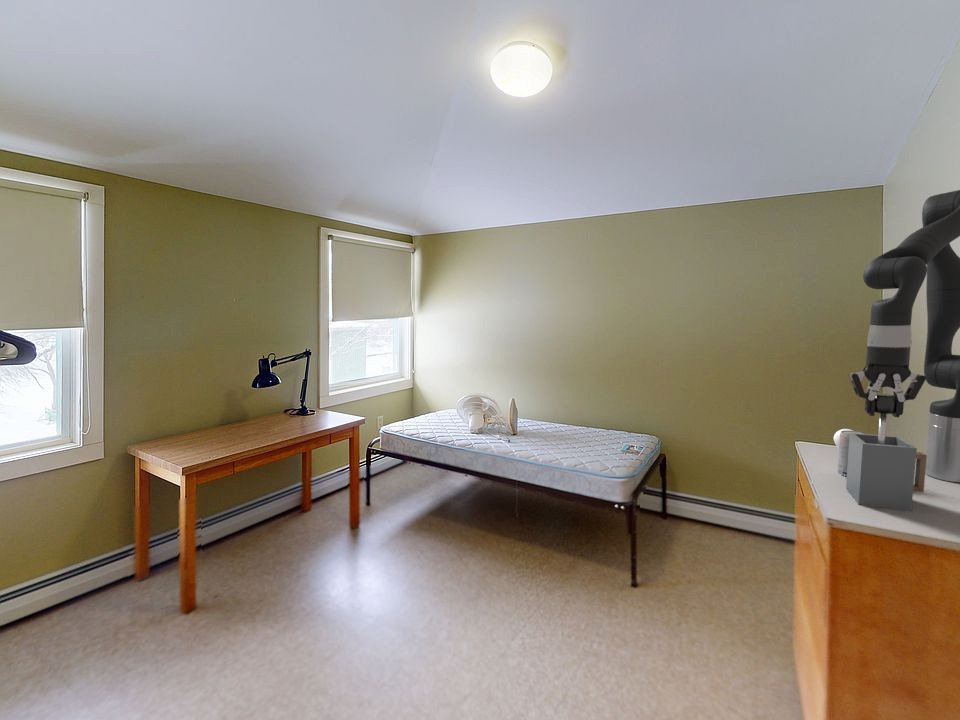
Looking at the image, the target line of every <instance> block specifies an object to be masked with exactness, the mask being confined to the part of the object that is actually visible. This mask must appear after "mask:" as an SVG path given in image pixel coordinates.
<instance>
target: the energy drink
mask: <svg viewBox="0 0 960 720" xmlns="http://www.w3.org/2000/svg"><path fill="white" fill-rule="evenodd" d="M850 433H857V434H864V433H863V432H861V431H857V430H856V431H855V430H853V431H841V433H840V439H839V450H838V457H837V459H838V460H837V473H838V474H839V475H840V474H841V476H842V475H845V476H844V477H846V476H847V467H848V452H849V437H850Z"/></svg>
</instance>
